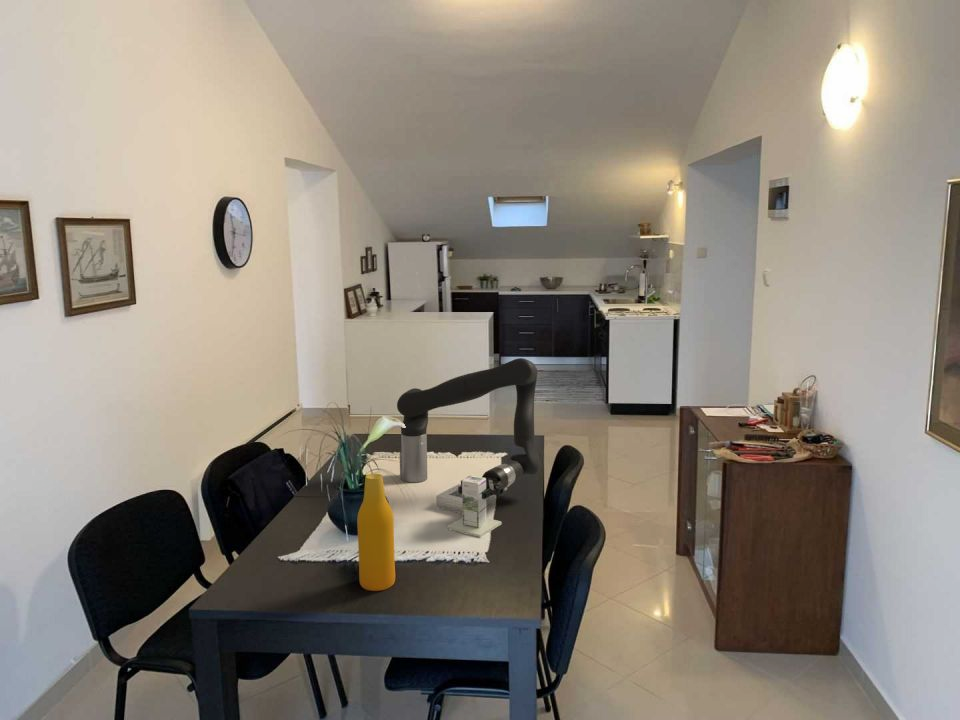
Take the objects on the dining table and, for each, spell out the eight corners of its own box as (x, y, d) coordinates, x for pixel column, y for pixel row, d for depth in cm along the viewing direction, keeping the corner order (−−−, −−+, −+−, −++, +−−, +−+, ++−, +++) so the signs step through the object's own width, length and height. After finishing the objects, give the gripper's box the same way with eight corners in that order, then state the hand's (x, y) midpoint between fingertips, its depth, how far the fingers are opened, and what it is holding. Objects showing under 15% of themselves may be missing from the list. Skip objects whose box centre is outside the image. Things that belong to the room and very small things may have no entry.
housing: (436, 507, 241) (436, 495, 240) (458, 495, 252) (458, 484, 251) (469, 515, 234) (468, 503, 233) (490, 502, 245) (490, 491, 244)
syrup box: (487, 521, 227) (486, 477, 224) (478, 528, 222) (478, 483, 219) (470, 518, 229) (470, 474, 227) (461, 525, 224) (461, 480, 221)
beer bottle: (356, 592, 185) (352, 482, 180) (362, 575, 194) (358, 470, 189) (393, 591, 185) (390, 482, 180) (397, 574, 194) (394, 470, 189)
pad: (447, 528, 224) (447, 526, 223) (469, 516, 233) (469, 513, 233) (480, 537, 217) (480, 535, 217) (501, 524, 227) (501, 521, 227)
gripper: (480, 463, 238) (451, 477, 225) (518, 470, 231) (490, 485, 217) (480, 485, 240) (451, 500, 226) (518, 493, 232) (490, 509, 219)
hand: (470, 493), depth 222 cm, fingers open, 8 cm apart
